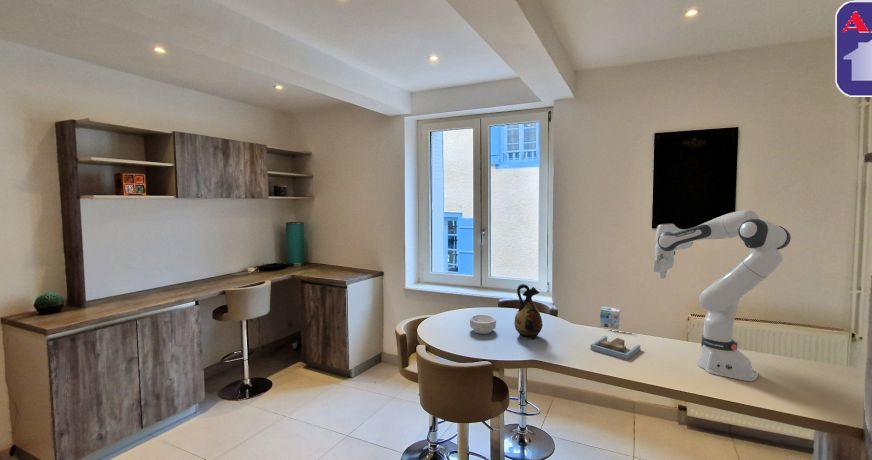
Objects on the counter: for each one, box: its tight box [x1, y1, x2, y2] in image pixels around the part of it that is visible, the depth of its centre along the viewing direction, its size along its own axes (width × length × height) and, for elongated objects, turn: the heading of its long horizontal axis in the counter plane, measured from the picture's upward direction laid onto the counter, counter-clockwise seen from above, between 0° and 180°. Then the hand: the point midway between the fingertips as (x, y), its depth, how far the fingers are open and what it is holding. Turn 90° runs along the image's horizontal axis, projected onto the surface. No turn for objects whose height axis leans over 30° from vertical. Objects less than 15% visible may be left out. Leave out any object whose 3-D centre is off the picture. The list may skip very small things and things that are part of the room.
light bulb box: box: [599, 306, 621, 330], centre depth 242 cm, size 11×7×11 cm, turn 62°
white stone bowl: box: [469, 314, 497, 335], centre depth 237 cm, size 15×15×8 cm
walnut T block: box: [599, 337, 627, 354], centre depth 208 cm, size 12×12×4 cm
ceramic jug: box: [513, 283, 543, 340], centre depth 226 cm, size 17×15×30 cm
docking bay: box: [590, 335, 641, 361], centre depth 208 cm, size 18×17×2 cm
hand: (662, 278), depth 219 cm, fingers closed
